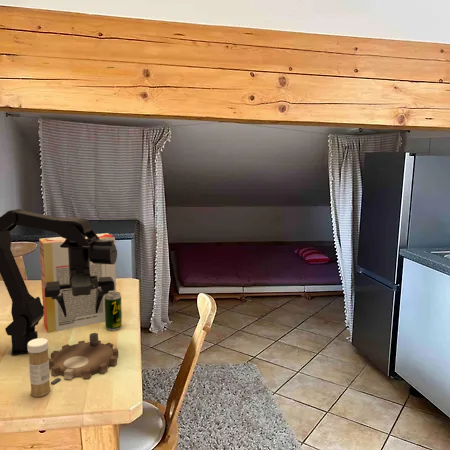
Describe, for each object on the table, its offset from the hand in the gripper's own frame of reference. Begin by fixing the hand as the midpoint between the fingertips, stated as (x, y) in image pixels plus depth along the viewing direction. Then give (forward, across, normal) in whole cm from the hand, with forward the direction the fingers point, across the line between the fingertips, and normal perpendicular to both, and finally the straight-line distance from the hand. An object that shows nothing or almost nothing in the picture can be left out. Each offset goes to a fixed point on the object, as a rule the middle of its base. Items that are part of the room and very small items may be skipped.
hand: (81, 314), depth 120 cm
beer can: (+12, +11, +15) cm, 22 cm away
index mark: (+12, -8, -14) cm, 20 cm away
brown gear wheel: (+12, 0, -6) cm, 13 cm away
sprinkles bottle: (+12, -11, -18) cm, 24 cm away
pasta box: (+12, +1, +24) cm, 27 cm away
